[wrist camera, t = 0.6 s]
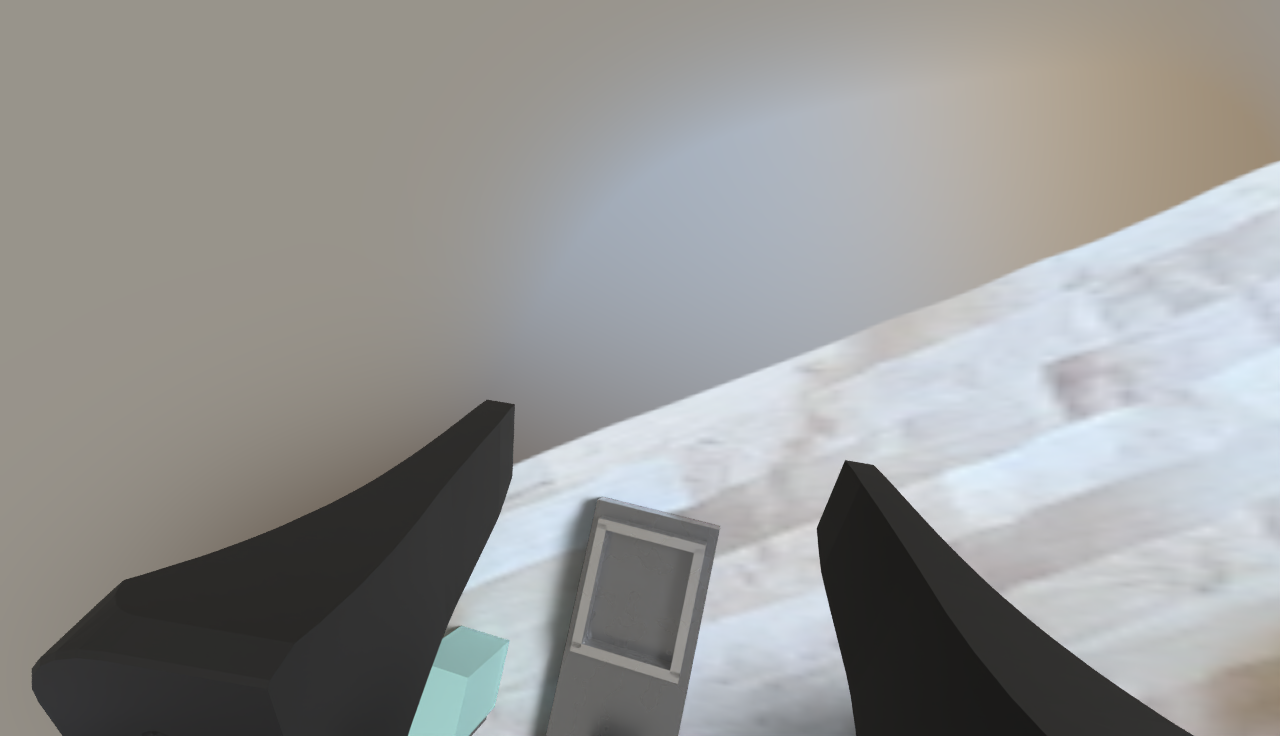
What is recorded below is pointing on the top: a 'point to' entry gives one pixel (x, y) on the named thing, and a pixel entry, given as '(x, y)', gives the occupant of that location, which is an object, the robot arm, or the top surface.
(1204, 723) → the top surface
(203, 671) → the robot arm
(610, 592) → the grey long flat piece
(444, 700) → the pale aqua cube
